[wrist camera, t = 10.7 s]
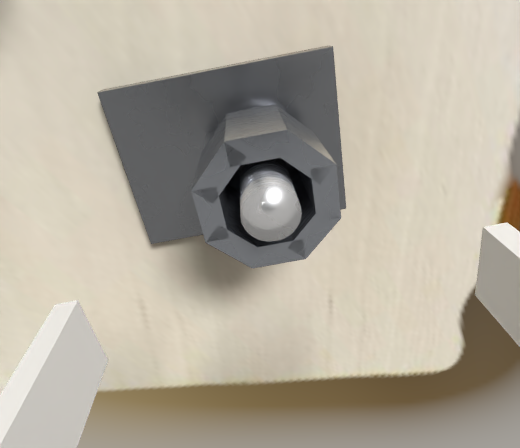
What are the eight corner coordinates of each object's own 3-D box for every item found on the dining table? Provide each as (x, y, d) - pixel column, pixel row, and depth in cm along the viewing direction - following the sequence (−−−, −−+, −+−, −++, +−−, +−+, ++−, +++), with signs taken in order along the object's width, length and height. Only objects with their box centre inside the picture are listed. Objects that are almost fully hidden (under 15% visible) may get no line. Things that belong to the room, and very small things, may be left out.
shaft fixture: (102, 89, 27) (18, 133, 17) (329, 45, 27) (390, 61, 16) (153, 236, 33) (114, 339, 22) (342, 202, 32) (394, 290, 22)
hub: (192, 119, 25) (179, 149, 19) (309, 97, 24) (332, 121, 19) (218, 222, 28) (214, 275, 22) (321, 204, 28) (344, 252, 22)
